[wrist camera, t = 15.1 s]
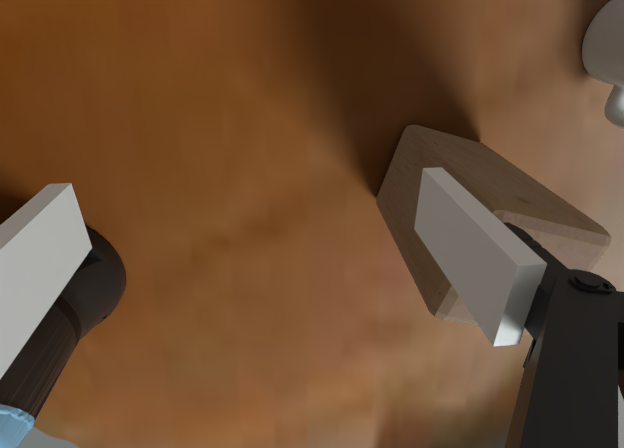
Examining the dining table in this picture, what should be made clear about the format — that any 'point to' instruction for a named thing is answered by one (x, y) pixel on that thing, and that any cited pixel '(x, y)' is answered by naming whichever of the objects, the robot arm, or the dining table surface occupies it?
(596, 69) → the mug
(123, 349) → the dining table surface
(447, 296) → the wooden block
